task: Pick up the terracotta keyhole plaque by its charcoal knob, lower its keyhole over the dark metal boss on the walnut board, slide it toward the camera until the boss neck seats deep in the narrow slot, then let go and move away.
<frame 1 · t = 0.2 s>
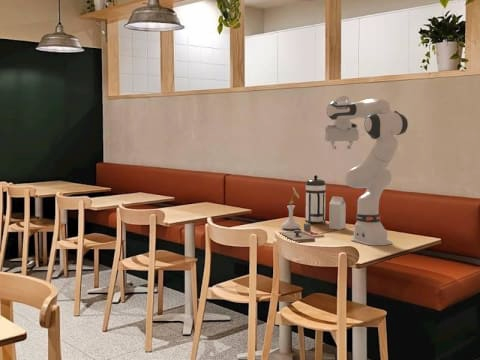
hand: (341, 149, 344), 47 cm above the table, fingers open, 8 cm apart
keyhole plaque: (312, 235, 334), on the table
milk carton: (337, 228, 354), on the table
coffee press: (316, 223, 372), on the table
mount board: (296, 238, 326), on the table
flower in vase: (291, 229, 354), on the table
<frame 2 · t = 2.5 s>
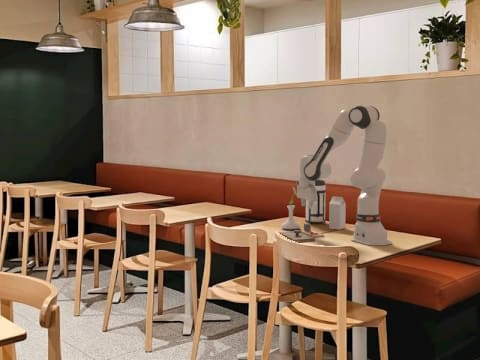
hand: (306, 207, 340), 15 cm above the table, fingers open, 8 cm apart
nothing on the table moved.
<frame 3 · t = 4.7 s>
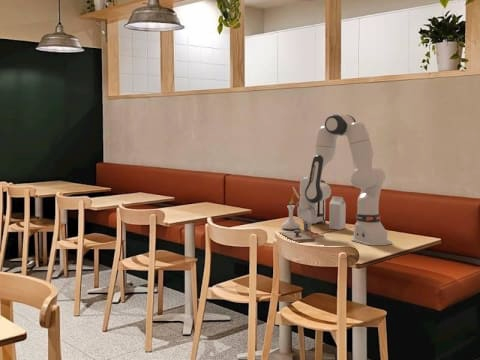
hand: (307, 228, 341), 2 cm above the table, fingers closed on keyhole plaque, 3 cm apart
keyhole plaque: (312, 235, 334), on the table, touching gripper
everything else where it was.
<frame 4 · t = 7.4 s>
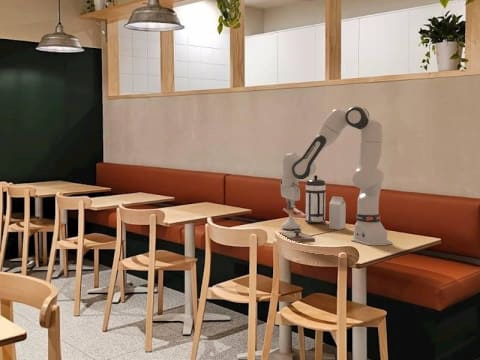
hand: (290, 206, 333), 16 cm above the table, fingers closed on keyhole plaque, 3 cm apart
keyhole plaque: (295, 214, 326), point 13 cm above the table, tilted 5°, touching gripper
everything else where it was.
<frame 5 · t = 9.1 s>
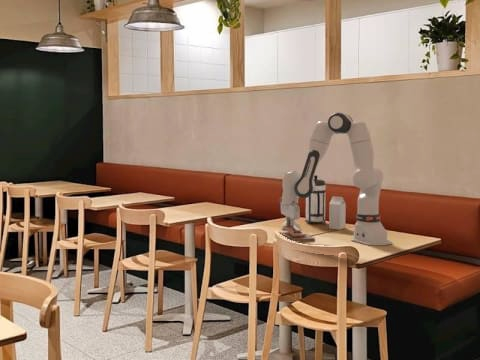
hand: (290, 224, 334), 6 cm above the table, fingers closed on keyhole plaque, 3 cm apart
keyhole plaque: (295, 232, 327), point 3 cm above the table, tilted 6°, touching gripper
everything else where it was.
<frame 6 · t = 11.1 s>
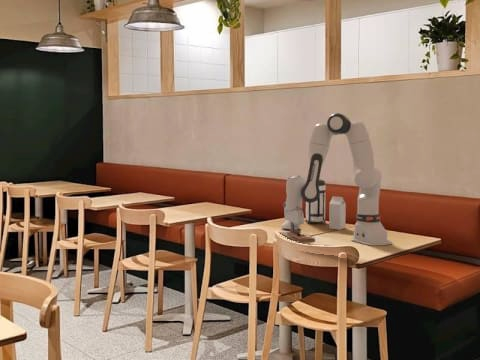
hand: (294, 230, 329), 4 cm above the table, fingers closed on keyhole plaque, 3 cm apart
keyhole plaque: (299, 236, 321), point 2 cm above the table, touching gripper, mount board
everything else where it was.
when the fingers open (4 cm above the table, at t = 12.0 s): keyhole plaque stays where it is, resting on mount board.
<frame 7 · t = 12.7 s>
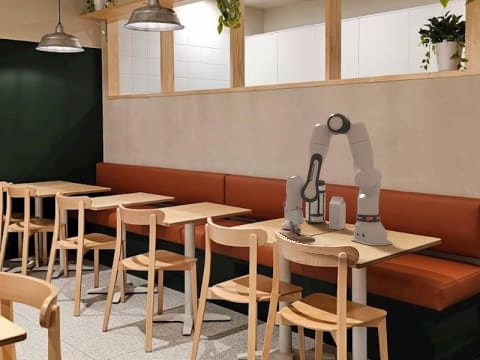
hand: (293, 229, 329), 4 cm above the table, fingers open, 4 cm apart
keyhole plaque: (299, 236, 321), point 1 cm above the table, touching mount board
everything else where it was.
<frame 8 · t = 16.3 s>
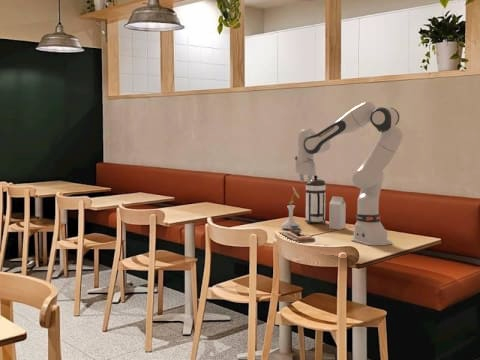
hand: (305, 182, 336), 29 cm above the table, fingers open, 8 cm apart
nothing on the table moved.
at the end: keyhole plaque 0.5 cm from the target spot on the mount board, point 1.5 cm above the mount board's base; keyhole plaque tilted 0°; the gripper is holding nothing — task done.
